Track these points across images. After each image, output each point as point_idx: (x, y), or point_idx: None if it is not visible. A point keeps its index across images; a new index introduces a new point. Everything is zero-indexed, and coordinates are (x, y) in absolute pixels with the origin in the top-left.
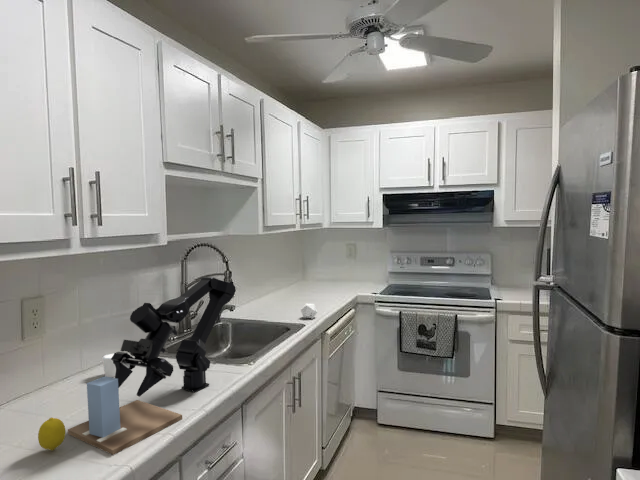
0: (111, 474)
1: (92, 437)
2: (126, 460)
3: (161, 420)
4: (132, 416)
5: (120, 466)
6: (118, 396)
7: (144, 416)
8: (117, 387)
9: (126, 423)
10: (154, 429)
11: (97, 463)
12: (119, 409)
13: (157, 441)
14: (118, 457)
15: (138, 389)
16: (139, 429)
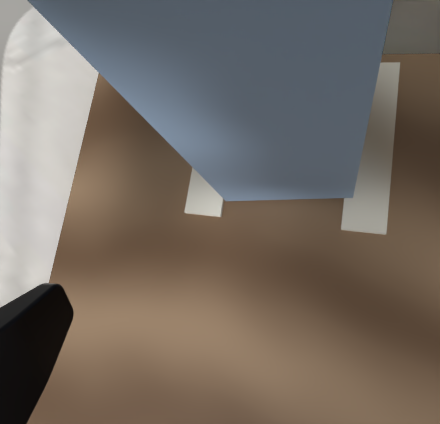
0: None
1: None
2: (41, 76)
3: (72, 378)
4: (298, 365)
5: (36, 44)
6: (129, 98)
7: (214, 393)
8: (62, 18)
9: (252, 269)
10: (51, 278)
11: None
12: (186, 160)
13: (12, 229)
14: (83, 73)
15: (14, 315)
16: (119, 241)
